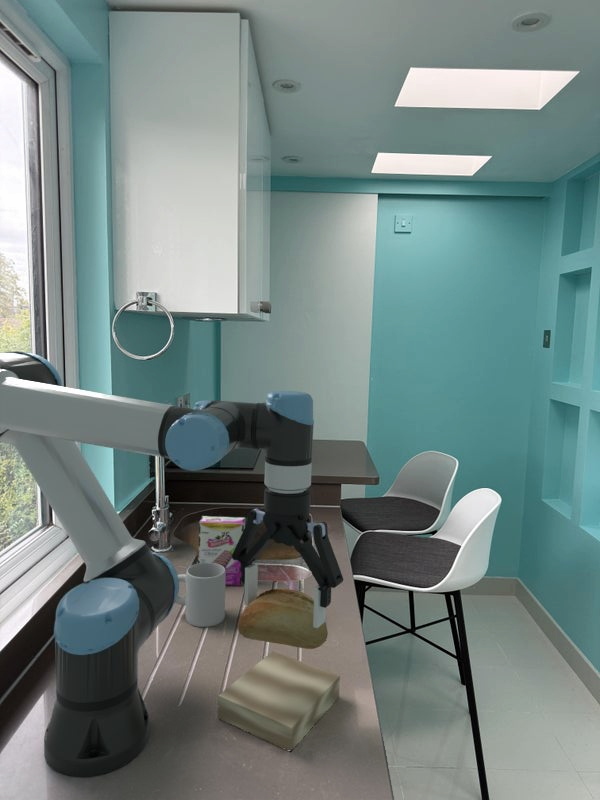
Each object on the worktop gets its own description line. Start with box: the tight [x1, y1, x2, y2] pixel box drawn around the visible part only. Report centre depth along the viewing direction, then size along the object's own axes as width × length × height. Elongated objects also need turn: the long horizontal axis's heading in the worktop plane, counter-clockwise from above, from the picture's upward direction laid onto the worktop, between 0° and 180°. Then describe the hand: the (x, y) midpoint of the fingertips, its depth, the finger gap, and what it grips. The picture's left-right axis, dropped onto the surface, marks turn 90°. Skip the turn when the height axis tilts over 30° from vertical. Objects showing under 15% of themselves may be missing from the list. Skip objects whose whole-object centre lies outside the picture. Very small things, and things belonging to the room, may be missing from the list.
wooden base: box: [217, 650, 341, 751], centre depth 98 cm, size 16×14×4 cm
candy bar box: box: [197, 515, 246, 587], centre depth 145 cm, size 11×5×16 cm, turn 91°
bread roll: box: [237, 588, 329, 650], centre depth 96 cm, size 10×15×8 cm, turn 83°
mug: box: [175, 563, 226, 628], centre depth 127 cm, size 12×8×11 cm
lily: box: [279, 567, 304, 593], centre depth 130 cm, size 12×12×10 cm
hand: (283, 613), depth 96 cm, fingers closed on bread roll, 13 cm apart
